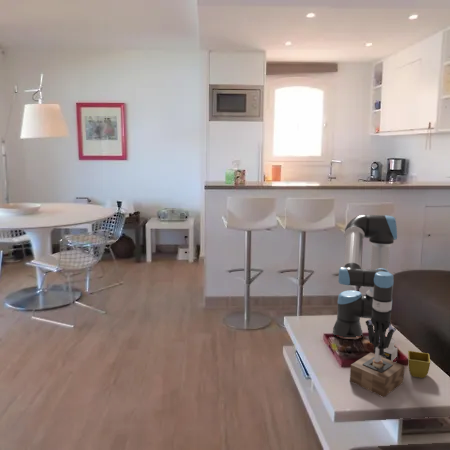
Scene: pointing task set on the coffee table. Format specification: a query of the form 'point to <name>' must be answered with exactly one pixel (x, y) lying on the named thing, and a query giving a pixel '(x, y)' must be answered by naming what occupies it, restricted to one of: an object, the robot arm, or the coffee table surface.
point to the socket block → (377, 375)
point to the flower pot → (418, 363)
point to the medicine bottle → (390, 351)
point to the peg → (378, 364)
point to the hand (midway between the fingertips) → (377, 360)
